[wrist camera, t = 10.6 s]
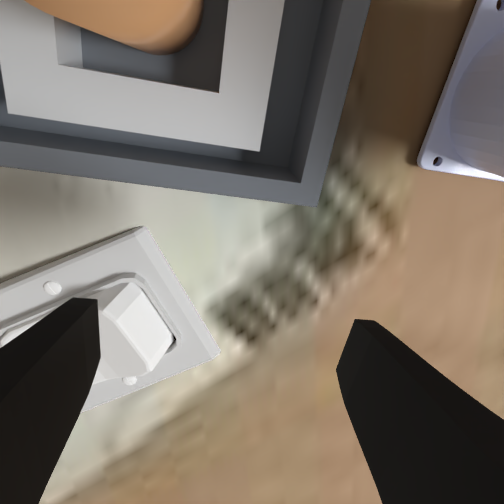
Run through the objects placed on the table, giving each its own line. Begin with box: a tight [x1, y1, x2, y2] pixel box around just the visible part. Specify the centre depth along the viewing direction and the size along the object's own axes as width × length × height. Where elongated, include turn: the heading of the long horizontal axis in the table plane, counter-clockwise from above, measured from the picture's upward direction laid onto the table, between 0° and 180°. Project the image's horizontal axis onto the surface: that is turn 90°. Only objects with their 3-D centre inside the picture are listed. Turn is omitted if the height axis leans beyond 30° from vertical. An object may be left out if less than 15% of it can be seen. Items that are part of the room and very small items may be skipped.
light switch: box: [0, 226, 221, 413], centre depth 21 cm, size 11×4×13 cm
